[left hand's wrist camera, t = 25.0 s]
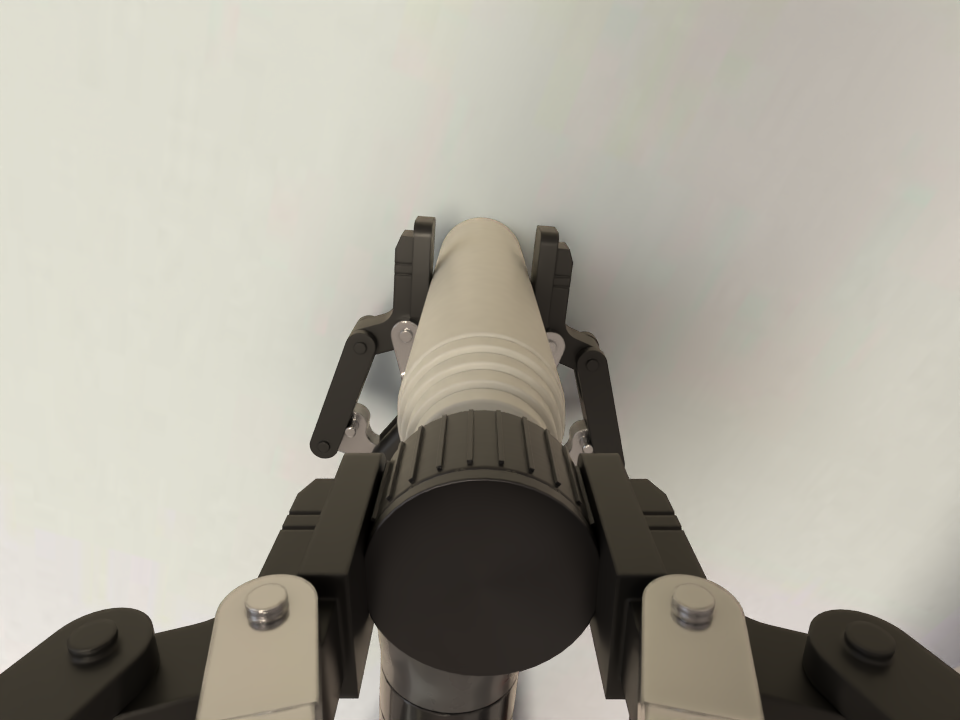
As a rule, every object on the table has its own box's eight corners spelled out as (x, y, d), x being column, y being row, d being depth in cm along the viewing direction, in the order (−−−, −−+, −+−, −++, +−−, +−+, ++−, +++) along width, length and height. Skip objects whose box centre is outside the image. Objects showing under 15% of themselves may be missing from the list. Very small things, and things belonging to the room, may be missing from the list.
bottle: (523, 218, 32) (619, 450, 10) (519, 299, 33) (596, 657, 11) (439, 216, 32) (350, 444, 10) (439, 297, 33) (361, 653, 11)
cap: (575, 584, 13) (595, 683, 11) (381, 579, 13) (361, 677, 11) (592, 408, 12) (620, 478, 9) (376, 402, 12) (351, 472, 9)
